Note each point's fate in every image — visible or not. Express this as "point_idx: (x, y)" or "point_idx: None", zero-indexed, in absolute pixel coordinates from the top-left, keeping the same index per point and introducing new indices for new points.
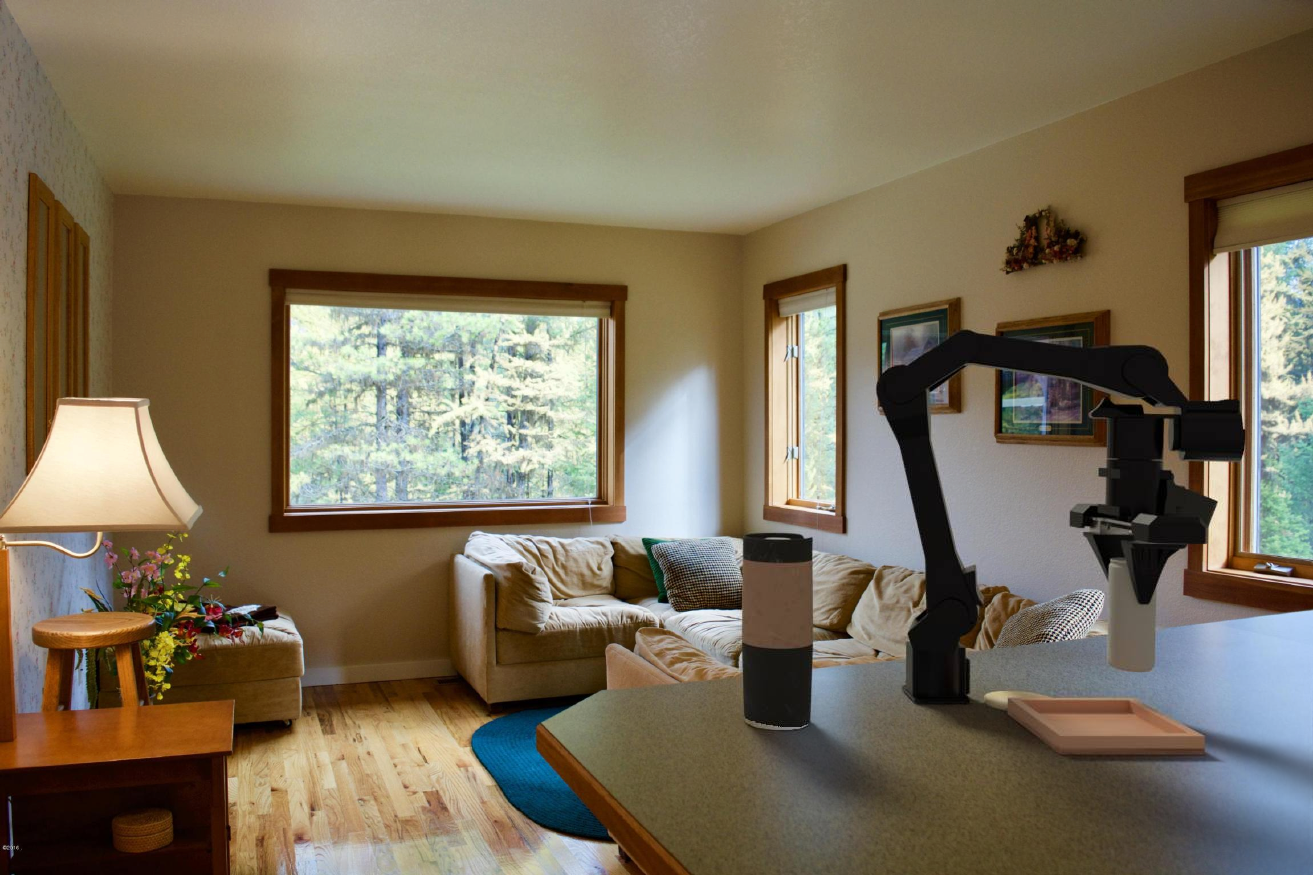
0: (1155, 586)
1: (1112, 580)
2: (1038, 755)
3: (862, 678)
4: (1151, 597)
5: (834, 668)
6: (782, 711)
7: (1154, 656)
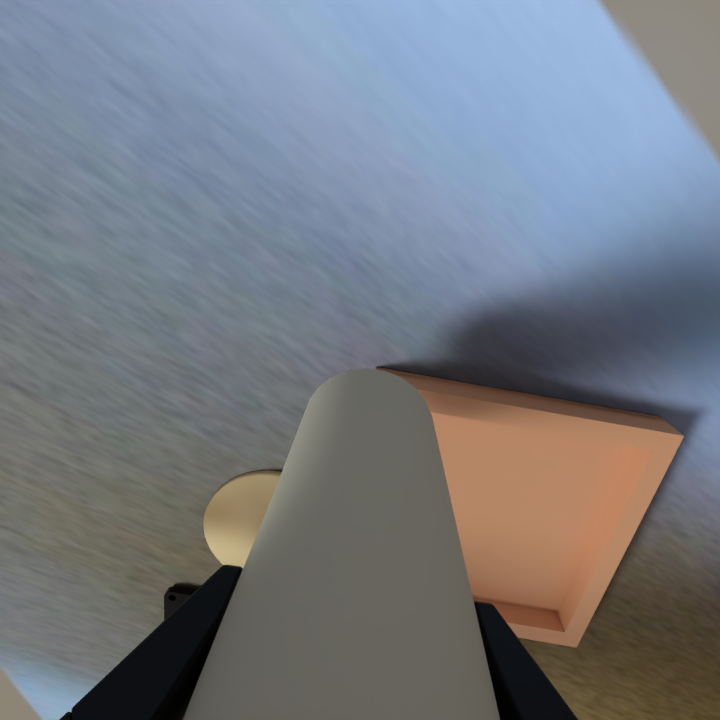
0: (563, 703)
1: None
2: None
3: (88, 669)
4: (512, 633)
5: (18, 679)
6: None
7: (421, 405)
